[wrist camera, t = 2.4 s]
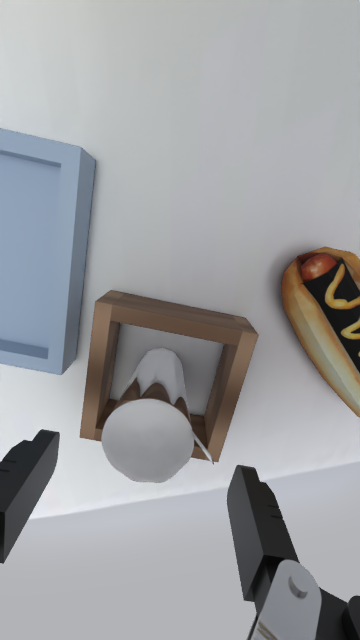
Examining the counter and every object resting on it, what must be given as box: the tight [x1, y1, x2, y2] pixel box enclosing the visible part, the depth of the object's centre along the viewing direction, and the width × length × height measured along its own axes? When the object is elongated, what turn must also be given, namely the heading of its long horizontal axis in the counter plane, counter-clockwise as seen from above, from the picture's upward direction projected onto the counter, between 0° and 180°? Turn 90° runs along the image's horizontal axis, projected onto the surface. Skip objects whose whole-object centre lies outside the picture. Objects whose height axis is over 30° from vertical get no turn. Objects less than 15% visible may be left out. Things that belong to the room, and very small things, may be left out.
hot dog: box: [281, 247, 360, 417], centre depth 17 cm, size 5×13×5 cm, turn 36°
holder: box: [80, 290, 258, 462], centre depth 19 cm, size 10×10×4 cm
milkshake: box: [101, 347, 214, 483], centre depth 16 cm, size 4×5×10 cm
